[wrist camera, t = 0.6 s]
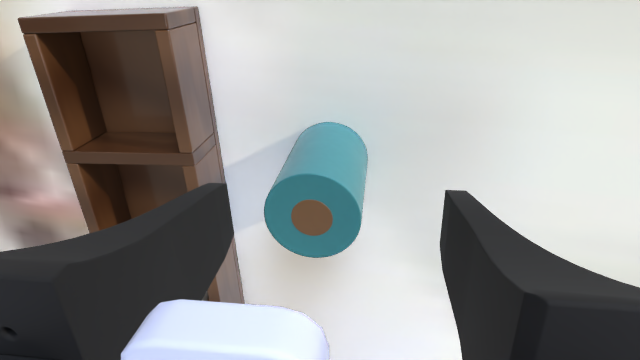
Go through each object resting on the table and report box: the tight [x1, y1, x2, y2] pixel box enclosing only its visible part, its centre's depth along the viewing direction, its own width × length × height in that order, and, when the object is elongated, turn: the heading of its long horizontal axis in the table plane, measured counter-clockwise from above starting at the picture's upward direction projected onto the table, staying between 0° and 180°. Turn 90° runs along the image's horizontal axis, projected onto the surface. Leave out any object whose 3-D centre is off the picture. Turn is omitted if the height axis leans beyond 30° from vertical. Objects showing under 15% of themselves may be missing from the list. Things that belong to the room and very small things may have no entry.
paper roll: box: [264, 122, 368, 258], centre depth 21 cm, size 4×4×6 cm
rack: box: [18, 7, 244, 304], centre depth 24 cm, size 20×7×4 cm, turn 2°
